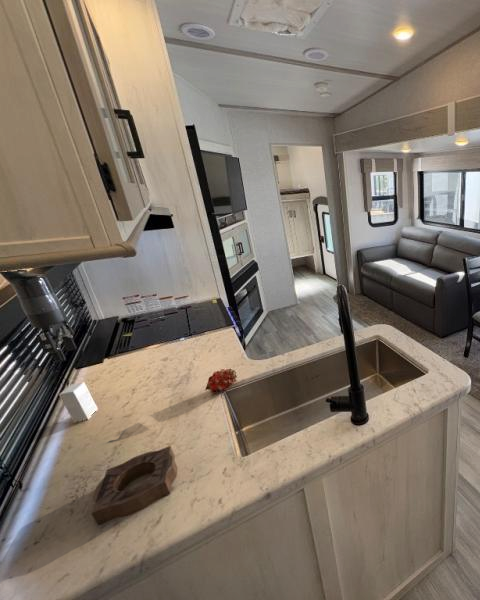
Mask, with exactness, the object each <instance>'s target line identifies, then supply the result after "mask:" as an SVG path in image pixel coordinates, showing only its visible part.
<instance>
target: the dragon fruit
mask: <svg viewBox="0 0 480 600" xmlns="http://www.w3.org/2000/svg"><path fill="white" fill-rule="evenodd" d="M237 378H238V377H237V372H236V370H234V369H231V368H227V369H225V368H220V369H219V370H217V371H215V372H213V373H212V374H211V375H210V376H209V377H208V379H207V383H206V386H205V389H204V390H205V391H206V392H208V391H209V393H210V394H216V393H218V392H221V391H222V390H224V392H226V391H227V390H228V389H230V388H231V387H232V386H233V385H234V383H236V382H238V381H237ZM218 390H219V391H218Z"/></svg>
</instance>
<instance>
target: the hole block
mask: <svg viewBox="0 0 480 600" xmlns="http://www.w3.org/2000/svg"><path fill="white" fill-rule="evenodd" d="M175 458H176V456H175V454H174V451H173V448H172V446H171V445H169V446H167V447H164V448H161V449H158V450H154V451H147V452H145V453H141V454H139V455H136V456H134V457H131V458H130V459H128V460H126V461H125V462H123V463H121V464H118V465H116V466H113V467H110V468H107V469H106V471H105V474H104V477H103V478H102V480H101V481H100V482H99V483H98V484H97V485H96V487H95V490H94V491H93V495H92V500H93V502H94V505H93V507H92V509H91V513H90V514H91V516H92V518H93V519H94V521H95V523H96V524H97V525H98V526H99V525H102V524H104V523H107V522H109V521H111V520H114V519H116V518H121V517H127V516H130V515H132V514H133V513H134V514H135V513H137V512H139V511H141V510H143V509H145V508H146V507H148V506H150V504H152V503H154V502H155V501H158V500H159V499H162V498H163V497H166V496H168V495H171V492H172V485H173V483H174V481H175V479H176V478H177V475H178V466H177V463H176V461H175ZM147 474H151V475H150V476H149V477H148V478H146V480H145V481H143V482H141V483H140V484H138V485H136V486H134V487H132V488H129V489H127V490H124V489H125V488H126V487H127V486H129V484H131V483H132V482H134V481H135V480H137V479H138V478H140V477H143V476H146V475H147Z"/></svg>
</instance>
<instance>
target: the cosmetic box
mask: <svg viewBox="0 0 480 600" xmlns="http://www.w3.org/2000/svg"><path fill="white" fill-rule="evenodd" d="M58 396H59V398H60V400H61V401H62V403H63V405H64V407H65V409H66V411H67V412H68V414H69V416H70V418H71V419H72V422H73V423H75V424H76V423H80V422H84V421H87V420H86V419H88V420H90V418H92V416H93V415H94V414H95V413H96V412H97V411H98V410H99V408H98V406H97V404H96V402H95V401H94V399H93V397H92V394H91V393H90V391H89V389H88V387H87V385H86V382H85V381H84V382H78V383H72V384H69V385H68V386H67V387H65V389H63V390H62V391H61V392H60V393H59V394H58ZM95 411H96V412H95ZM94 412H95V413H94ZM93 413H94V414H93ZM92 414H93V415H92ZM91 415H92V416H91ZM82 420H83V421H82ZM77 421H78V422H77Z"/></svg>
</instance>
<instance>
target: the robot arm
mask: <svg viewBox="0 0 480 600" xmlns="http://www.w3.org/2000/svg"><path fill="white" fill-rule="evenodd" d="M0 275H1V276H2V277H3V278H4V280H6V281H7V282H8V283H9V284H10V285H11V286H12V288H13V290H14V292H15V294H16V296H17V298H18V300H19V303H20V306H21V308H22V310H23V312H24V314H25V316H26V318H27V320H28V322H29V324H30V326H31V327H32V328H34V329H37V328H38V329H41V333H38V334H36V335H35V336H36V339H37V341H38V343H39V345H40V347H41V349H42V351H43V353H44V354H47V353H50V355H51V356H52V359H53V360H54V362H55V363H58V364H59V363H62V362H65V361H67V360H66V359H67V358H66V356H65V354H64V352H63V349H61V344H63V345H64V347H65V349H66V351H67V352H71V351H75V350H77V346H76V343H75V342H74V335H75V331H74V329H73V327H72V325H71V324H70V322H69V320H68V316H67V314H66V312H65V310H64V308H63V305H62V304H61V301H60V300H59V297H58V296H57V295H56V293H55V292H54V289H53V287H52V285H51V283H50V281H49V279H48V278H47V276H46V275H44V274H41V273H32V272H30V271H28V270H27V269H26V268H25V270H17V271H7V272H0Z"/></svg>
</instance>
